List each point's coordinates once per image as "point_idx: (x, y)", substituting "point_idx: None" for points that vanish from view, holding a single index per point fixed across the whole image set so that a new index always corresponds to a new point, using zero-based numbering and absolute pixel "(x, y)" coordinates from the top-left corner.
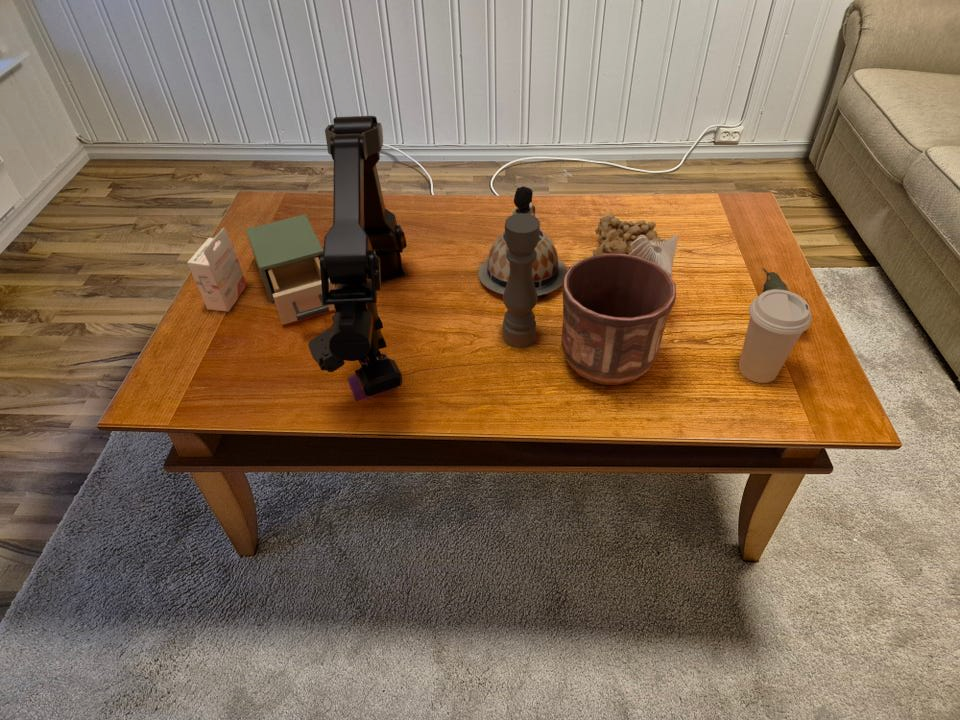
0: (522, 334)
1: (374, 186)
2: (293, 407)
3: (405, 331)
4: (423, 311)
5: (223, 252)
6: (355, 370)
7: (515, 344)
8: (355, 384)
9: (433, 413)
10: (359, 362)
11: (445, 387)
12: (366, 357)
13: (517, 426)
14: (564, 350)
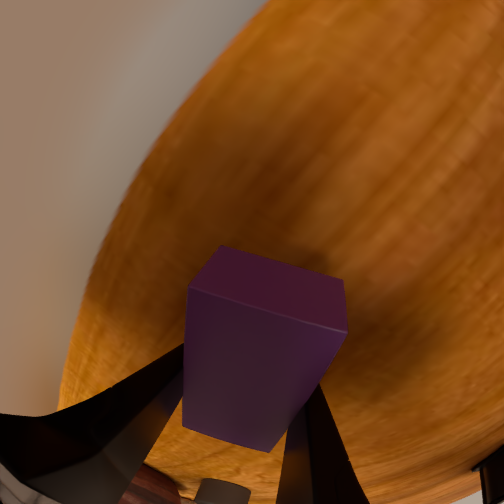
0: (195, 499)
1: None
2: (433, 9)
3: (394, 453)
4: (396, 474)
5: None
6: (24, 483)
7: (207, 483)
8: (251, 332)
9: (114, 359)
10: (311, 467)
11: (176, 415)
12: (292, 497)
13: (69, 389)
14: (130, 487)
